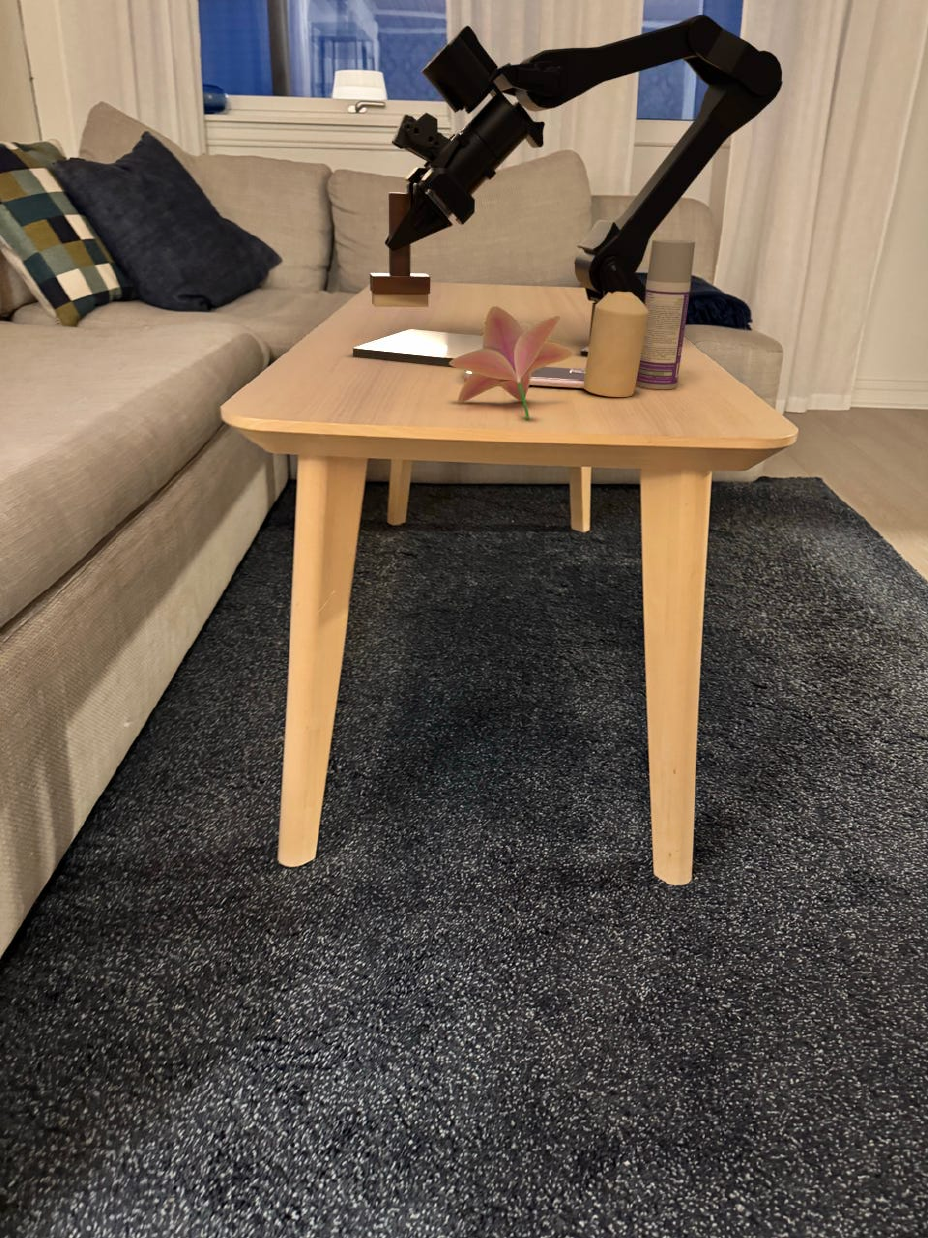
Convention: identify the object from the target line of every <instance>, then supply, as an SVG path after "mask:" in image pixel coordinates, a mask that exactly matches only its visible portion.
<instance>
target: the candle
mask: <svg viewBox="0 0 928 1238" xmlns="http://www.w3.org/2000/svg"><path fill="white" fill-rule="evenodd" d="M648 314H649V311H648V309H647V308H646V306H645V305H644V304H643V303H642V302H641V301H640V300H639V298H638V297H636V296H635V295H634V294H633V293H631V292H614V293H613V294H612V293H610V292H608V294H607V295H606V296H605V297H604V298H603V299H601V300H600V301H599V302H598V303H597V304H596V305H595V311H594V317H593V324H592V330H591V337H590V344H589V343H588V345H589V350H588V355H587V356H586V357H587V358H586V362H585V363H586V364H585V369H586V370H585V377H584V388H583V389H584V390H585V391H587V392H589V393H591V394H595V395H599V396H605V397H610V398H611V397H612V398H626V397H627V398H628V397H631V396H633V395H634V394H635V390H636V386H637V385H636V380H637V375H638V369H639V364H640V358H641V353H642V347H643V342H644V336H645V330H646V325H647V319H648Z"/></svg>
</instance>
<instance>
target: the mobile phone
mask: <svg viewBox="0 0 928 1238" xmlns="http://www.w3.org/2000/svg"><path fill="white" fill-rule="evenodd" d="M585 370H586V368H582V367H559V366H558V367H555V366H544V367H542V368H540V369H537V370H535V371H533V372H531V378H530V383H529V386H537V387H553V388H569V389H584V377H585ZM471 373H472V372H469V371H466V370H465V372H464V374H463V378H464V380H465V381H466V380H467V378H468V377H469V375H470V374H471Z"/></svg>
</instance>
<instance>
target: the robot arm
mask: <svg viewBox="0 0 928 1238" xmlns="http://www.w3.org/2000/svg"><path fill="white" fill-rule="evenodd" d="M679 60H682V61H684V62H685V63H686V64H688V66H689V67H690V68H691V69H692V70H693V72H694V73H695V75H696V76H697V77H698V78H699V80H700V81H701V82H703V83H704V84H705V85H707V86H708V87H707V89H706V90H705V92H704V95H703V97H702V101H701V104H700V107H699V110H698V113H697V115H696V117H695V119H694V120H693V122H692V123H691V124H690V126H689V127H688V128H687V129H686V131H685V132H684V133H683V135H682V136H681V138H680V139H679V140H678V141H677V142H676V144H675V145H674V146H673V148H672V149H671V150H670V152H669V153H668V154H667V155H666V157H665V158H664V159H663V161H662V163H660V164H659V166H658V167H657V168H656V170H655V171H654V172H653V174H652V175H651V176H650V178H649V179H648V180H647V182H646V183H645V184H644V185H643V187H642V188H641V189H640V191H638V193H637V195H636V196H635V198H634V199H633V200H632V201H631V203H630V204H629V205H628V207H627V208H626V209H625V210H624V212H623V213H621V215H620V216H619V217H618V218H617V219H615V220H614V221H610V220H602V219H598V220H597V221H596V222H595V224H594V225H593V227H592V228H591V231H590V232H589V234H588V236H587V237H586V238H585V239H584V240H583V241H582V242H580V243H579V244H577V246H576V247H577V248H578V249H580V250H579V252H577V255H576V257H575V258H574V262H573V263H574V274H575V277H576V279H577V281H578V282H579V283H580V285H581V286H582V287H584V290H585V294H586V298H587V301H590V302H592V303H591V312H590V323H589V335H588V345H587V346H585V347H584V348H583V349H581V350H580V355H583V356H588V350H589V344H590V337H591V330H592V324H593V317H594V311H595V305H596V304H597V303H598V302H599V301H600V300H601V299H603V298H604V297H605V296H606V295H607V294H608V292H610V293H612V294H613V293H614V292H631V293H633V294H634V295H635V296H636V297H638V298H639V300H640V301H641V302H642V303H643V304H644V299H645V290H646V285H644V283H643V282H642V281H641V279H640V278H639V277H638V276H637V274H636V273H637V271H638V269H639V268H640V265H641V264H642V262H643V261H644V257H645V253H646V250H647V248H648V245H649V242H650V239H651V238H652V236H653V234H654V233H655V231H656V230H657V229H658V228H659V226H660V225H661V224H662V223H663V222H664V220H665V219H666V217H667V216H668V215H669V214H670V212H671V211H672V210H673V208H674V207H676V205H677V203H678V202H679V201H680V200H681V198H682V197H683V196H684V194H685V193H686V192H687V190H688V189H689V188H690V187H691V185H692V184H693V183H694V181H696V179H697V178H698V176H699V175H700V174H701V173H702V171H703V170H704V169H705V167H706V166H707V165H708V164H709V162H710V161H711V160H712V158H713V157H714V156H715V155H716V153H717V152H718V150H720V148H721V147H722V146H723V144H725V142H726V141H727V139H729V137H731V136H732V135H733V134H734V133H736V132H738V131H739V130H740V129H741V128H743V127H744V126H746V124H748V123H750V122H751V121H752V120H753V119H755V118H756V117H757V116H758V115H759V114H760V113H761V112H762V111H764V110H765V108H766V107H768V106H769V105H770V104H771V103H772V102H773V101H774V100H775V99H776V98H777V96H778V94H779V93H780V91H781V90H782V86H783V69H782V65H781V63H780V61H779V59H778V57H777V56H776V55H774V54H773V52H770V51H768V50H759V49H757V48H756V47H755V46H754V45H753V44H752V43H750V42H749V41H747V40H745V39H743V38H742V37H740V36H738V35H736V34H734V33H732V32H730V31H729V30H727V29H725V28H723V26H721V25H720V24H718V23H717V22H716V21H715V20H714V19H713V18H711V17H710V16H709V15H706V14H697V15H694V16H691V17H689V18H686V19H683V20H682V21H680V22H678V23H674V24H672V25H667V26H665V27H662V28H659V29H655V30H651V31H648V32H644V33H641V34H638V35H634V36H631V37H627V38H623V39H620V40H617V41H613V42H610V43H606V44H604V45H599V46H590V47H566V48H565V47H564V48H554V49H553V48H552V49H544V50H542V51H540V52H537V53H535V54H533V55H531V56H528V57H527V58H525V59H523V60H522V61H521V62H520V63H518V64H517V63H516V64H511V63H510V62H507V63H506V64H503V65H501V66H498V65H497V64H496V61H494V60H493V58H492V57H491V55H490V54H489V53H488V52H487V50H486V49H485V48H484V46H483V45H482V44H481V42H480V41H479V38H478V36H477V35H476V33H475V32H474V30H473V29H472V27H471V26H470V25H465V26H464V27H463V28H462V29H461V30H460V31H459V32H458V33H457V34H456V35H455V36H454V37H453V38H452V39H451V40H450V41H449V42H448V43H447V44H446V45H445V46H443V47H442V48H440V49H439V50H438V51H437V53H435V55H434V56H433V57H432V58H431V60H429V61H428V63H427V64H426V65H425V66H424V68H423V69H422V70H421V73H422V75H424V77H425V78H426V79H427V81H428V82H429V83H430V84H431V85H432V87H433V88H434V89H435V90H436V92H437V93H438V94H439V96H440V97H441V98H442V99H443V100H444V102H445V103H446V104H447V105H448V107H449V108H450V109H451V110H452V111H453V113H454V114H457V113H458V112H459V111H461V112H462V111H463V110H464V112H465V113H466V115H469V114H471V113H472V112H473V111H474V110H475V109H477V108H478V107H479V105H481V103H482V102H483V101H484V100H485V99H486V98H487V97H488V96H489V95H490V96H491V98H490V99H489V100H488V102H487V103H486V104H485V105H484V106H483V107H482V108H481V109H480V110H479V112H477V113H476V115H475V116H474V117H473V118H472V119H471V120H470V121H469V122H468V123H467V124H466V126H465V127H463V128H462V129H461V130H460V132H457V133H452V134H451V135H450V136H449V137H447V136H445V135H443V133H441V132H440V131H439V129H438V118H437V117H435V116H433V115H432V114H430V113H428V112H424V113H423V114H421V115H420V116H419V117H418V118H417V119H416V118H415V117H414V116H412V115H409V114H404V115H402V116H401V118H400V121H399V123H398V126H397V128H396V131H395V133H394V135H393V138H392V140H391V145H393V146H395V147H397V148H398V149H400V150H403V149H404V150H405V151H407V152H409V153H411V154H412V155H413V156H416V157H418V158H420V159H422V160H424V161H425V162H424V163H423V165H422V167H414V168H413V169H412V170H411V171H410V172H409V174H408V175H407V176H406V177H405V178H404V180H405V181H406V185H405V186H406V193H411V208H410V209H409V211H408V212H407V214H406V216H405V217H404V219H403V220H402V222H401V223H400V225H399V226H398V228H397V229H396V231H395V232H394V234H393V235H392V237H391V239H390V240H389V234H388V236H387V237H386V239H385V240H384V245H385V246H386V247H387V248H388V249H389V248H390V249H391V250H392V251H396V250H398V249H400V248H402V247H405V246H407V245H409V244H411V245H412V244H413V243H416V242H418V241H421V240H423V239H424V238H428V237H429V236H432V235H434V234H436V233H439V232H440V231H443V230H445V229H448V228H451V227H452V226H454V224H453V223H452V221H451V220H450V218H451V217H452V216H454V217H455V221H456V222H457V224H458V225H462V226H463V225H465V224H466V223H467V222H468V220H469V219H470V218H471V217H473V215H474V214H475V212H476V211H475V210H476V207H475V206H476V199H475V198H474V197H473V195H474V194H475V192H476V191H478V189H480V187H481V186H482V185H483V184H484V183H485V182H486V181H491V180H492V179H493V178H494V177H495V176H496V174H497V172H496V170H497V169H498V168H499V167H500V166H501V165H502V164H503V163H504V162H505V161H506V160H507V159H508V157H509V156H511V154H512V153H513V152H514V151H515V150H516V149H517V148H518V147H519V146H520V145H521V144H522V143H523V142H524V140H525V141H526V143H527V144H528V145H529V146H530V147H531V148H532V149H537V148H543V146H544V144H545V141H544V129H545V126H546V123H545V121H543V120H542V121H535V120H534V119H533V118H532V117H531V115H530V114H529V113H528V112H527V111H526V110H528V111H529V112H534V113H535V112H543V111H546V110H547V111H548V110H551V109H555V108H558V107H560V106H563V105H564V104H566V103H568V102H571V100H574V99H575V98H577V97H579V96H581V95H583V94H585V93H587V92H588V91H590V90H592V89H593V88H595V87H597V86H599V85H601V84H603V83H605V82H609V81H612V80H616V79H618V78H622V77H625V76H629V75H632V74H636V73H640V72H642V71H646V70H649V69H652V68H655V67H659V66H662V65H666V64H669V63H672V62H676V61H679ZM504 94H505V95H508V96H510V97H511V96H512V97H515V98H516V100H517V101H516V102H514V103H512V102H510V100H509V99H508V98H507V97H506V96H505V95H504Z"/></svg>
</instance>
